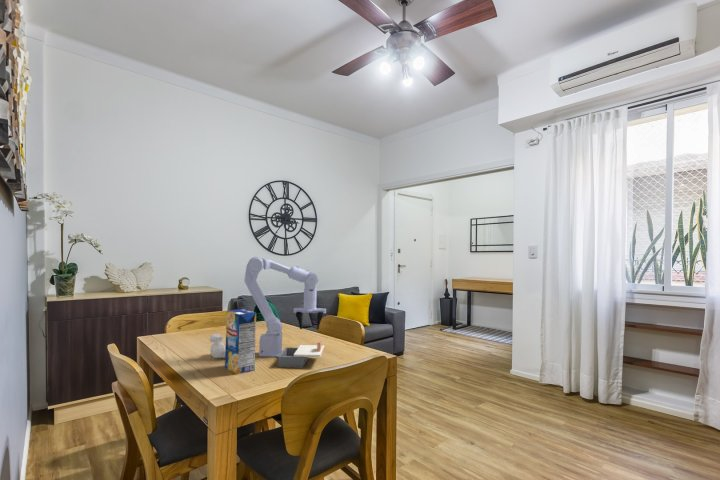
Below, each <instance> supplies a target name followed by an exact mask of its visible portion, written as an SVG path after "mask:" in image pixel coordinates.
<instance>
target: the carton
mask: <svg viewBox="0 0 720 480" xmlns="http://www.w3.org/2000/svg"><path fill="white" fill-rule="evenodd" d="M298 348H299V347H292V346H291V347H288V346H287V347H285V348H284V349H282V352H281V354H280V355H279V356H278V357H277V368H301V369H302V368H303V369H304V366H305V365H306V362H307V361H308V359H309V357H294V353H295V352H296V350H297V349H298Z"/></svg>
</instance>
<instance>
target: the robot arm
mask: <svg viewBox="0 0 720 480" xmlns="http://www.w3.org/2000/svg"><path fill="white" fill-rule="evenodd" d="M245 267H246V268H245V274H244V283H245V285H246V287H247V289H248V291H249V292H250V294H251V296H252V298H253V301H254V302H255V304H256V306H257V309H259V311H260V313H261V315H262V317H263V319H264V321H265V323H266V328H267V331H266V332H265V333H261V334H260V336H259V349H258V352H259V353H258V357H270V358H271V357H277V358H278V356H279V355H280V354H281V352H282V351H283V332H282V331H283V325H282V322H281V319H279V318H278V317H276V315H275V314H274V312H273V310H272V308H271V306H270V305H269V302H268V300H267V298H266V297H265V294H264V293H263V291H262V289H261V287H260V285H259V284H258V281H257V279H258V276H259V274H260V273H261V272H262V270H269V269H270V270H274V271H277V272H280V273H283V274H286V275H287V276H288V279H290V280H294V281H297V282H299V283H304V287H303V288H304V289H303V307H295V308H293V313H294V314H295V317H296V319H297V321H298V325H299V330H302V329H303V315H304V314H316V317H317V319H316V324H317V325H316V330H319V329H320V325H321V322H322V320H323V319H322V318H323V316H324V314H326V313H327V308H320V307H317V300H318V299H317V295H318V294H317V291H318V290H317V284H318V282H319V278H318V275H316V273H314V272H311V271H310V270H308V269H307V270H305V269H302V268H300V266H298V265H296V266H295V265H293V266H291V267H289V266H286V265H285V264H284V265H283V264H281V263H278V262H276V261H274V260H272V259H268V258H267V259H266V258H262V257H261V258H260V257H258V256H254V257H253V256H252V257H251V258H250V259H249V260H248V262H247V264H246V266H245Z"/></svg>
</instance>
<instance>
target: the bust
mask: <svg viewBox="0 0 720 480" xmlns="http://www.w3.org/2000/svg"><path fill="white" fill-rule="evenodd" d="M223 339H224V337H223V336H222V335H220V334H219V333H214V334H211V335H210V338H209V342H211V343H212V345H211V346H210V350H209V351H210V355H211V356H212V357H213V358H214V359H225V351H226V343H225V344H224V343H223V342H222V341H223Z"/></svg>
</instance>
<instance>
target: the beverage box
mask: <svg viewBox="0 0 720 480" xmlns="http://www.w3.org/2000/svg"><path fill="white" fill-rule="evenodd" d="M256 323H257V312H255V311H252V310H248V309H245V308H240V309H230V310H226V321H225V347H226V351H225V358H224V359H225V360H224V367H225V369H227V370H229V371H231V372H233V373H235V374H236V375H241V374H244V373H249V372H254V371H256V370H255V366H256V365H255V364H256V363H255V362H256V330H257V328H256V326H257V325H256Z"/></svg>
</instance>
